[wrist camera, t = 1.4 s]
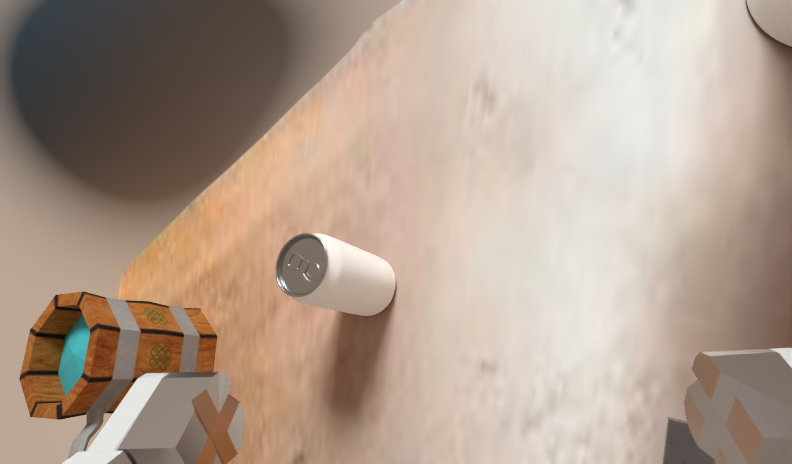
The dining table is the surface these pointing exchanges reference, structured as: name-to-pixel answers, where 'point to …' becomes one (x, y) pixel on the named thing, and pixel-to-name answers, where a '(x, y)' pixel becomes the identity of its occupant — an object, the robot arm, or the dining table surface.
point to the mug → (106, 354)
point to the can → (334, 275)
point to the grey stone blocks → (682, 445)
